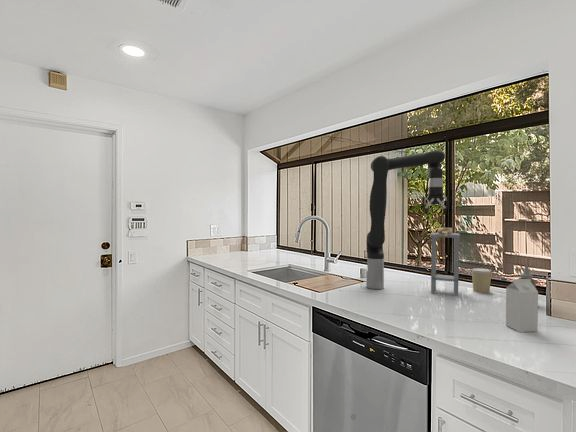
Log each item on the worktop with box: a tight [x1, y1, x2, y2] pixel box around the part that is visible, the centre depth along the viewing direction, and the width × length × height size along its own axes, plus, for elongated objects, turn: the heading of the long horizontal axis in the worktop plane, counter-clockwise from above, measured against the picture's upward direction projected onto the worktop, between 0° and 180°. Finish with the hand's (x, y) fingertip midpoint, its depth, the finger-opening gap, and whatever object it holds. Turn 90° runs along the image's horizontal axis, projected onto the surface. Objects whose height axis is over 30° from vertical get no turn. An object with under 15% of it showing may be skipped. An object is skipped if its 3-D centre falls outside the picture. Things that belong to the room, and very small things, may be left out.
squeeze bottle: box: [518, 266, 537, 289], centre depth 154 cm, size 8×8×18 cm
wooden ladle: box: [437, 227, 453, 236], centre depth 171 cm, size 7×19×3 cm, turn 153°
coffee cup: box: [471, 267, 493, 294], centre depth 178 cm, size 9×9×12 cm
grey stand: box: [429, 232, 461, 297], centre depth 176 cm, size 14×10×32 cm
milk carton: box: [505, 278, 539, 333], centre depth 124 cm, size 7×7×19 cm
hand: (435, 215), depth 184 cm, fingers open, 8 cm apart
